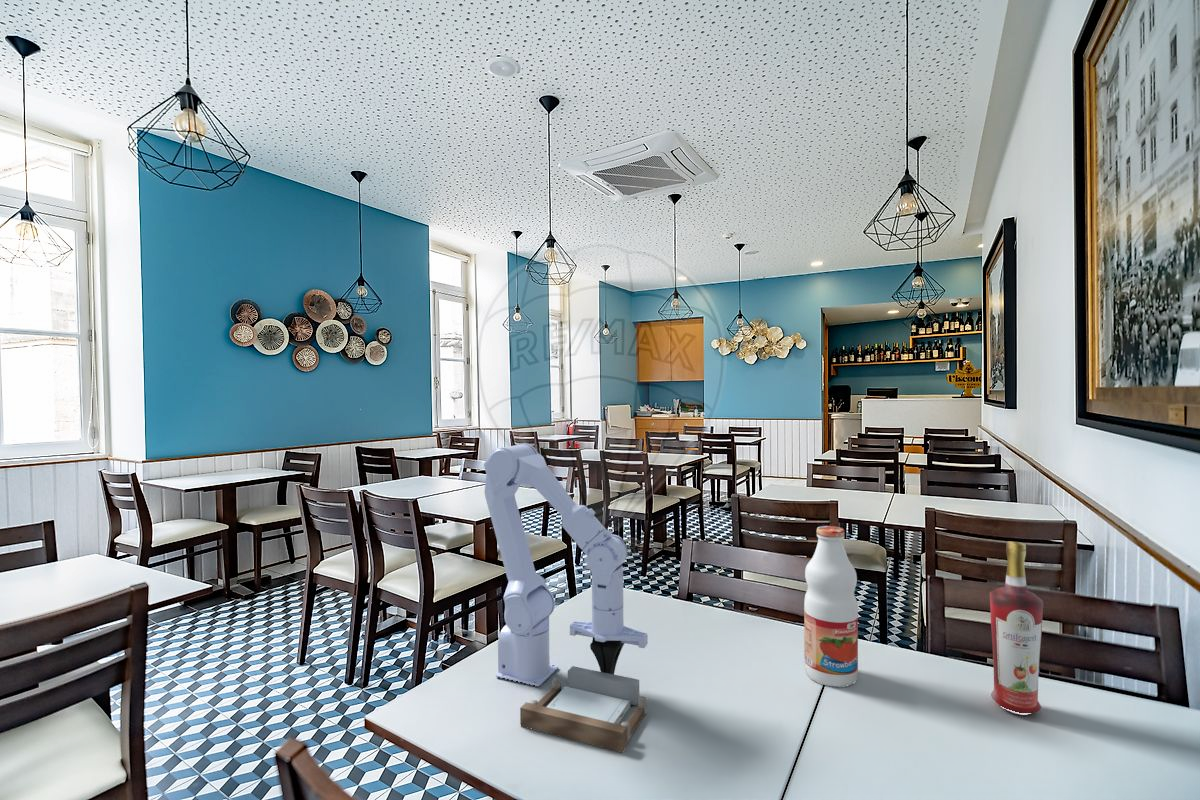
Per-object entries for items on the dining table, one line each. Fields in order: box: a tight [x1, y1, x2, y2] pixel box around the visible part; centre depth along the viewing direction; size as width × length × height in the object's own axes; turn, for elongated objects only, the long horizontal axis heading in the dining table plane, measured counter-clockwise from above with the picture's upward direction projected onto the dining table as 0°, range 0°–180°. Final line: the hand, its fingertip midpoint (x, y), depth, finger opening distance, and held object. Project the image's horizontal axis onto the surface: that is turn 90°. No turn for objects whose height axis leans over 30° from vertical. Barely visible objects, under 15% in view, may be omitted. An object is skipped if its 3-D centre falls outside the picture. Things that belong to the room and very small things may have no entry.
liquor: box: [989, 540, 1044, 714], centre depth 96 cm, size 7×7×28 cm
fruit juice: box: [803, 525, 859, 688], centre depth 108 cm, size 9×9×28 cm
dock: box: [519, 677, 648, 753], centre depth 95 cm, size 18×12×3 cm, turn 67°
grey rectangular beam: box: [567, 665, 640, 706], centre depth 101 cm, size 13×2×4 cm, turn 67°
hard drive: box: [547, 686, 631, 725], centre depth 97 cm, size 2×8×12 cm
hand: (608, 679), depth 104 cm, fingers closed, pressing on grey rectangular beam
